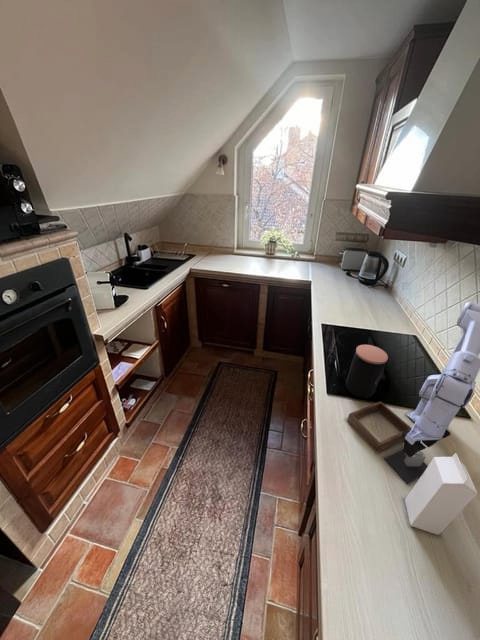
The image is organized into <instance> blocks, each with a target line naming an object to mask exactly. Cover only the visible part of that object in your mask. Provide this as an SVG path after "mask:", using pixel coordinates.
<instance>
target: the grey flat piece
mask: <svg viewBox="0 0 480 640" xmlns="http://www.w3.org/2000/svg"><path fill="white" fill-rule="evenodd" d="M402 447H404V443H403V444H402ZM405 455H406V454H405ZM406 456H407V455H406ZM426 458H427V456H426V454H425V453H424V451H422V450H421V451H418V452H417V453H416V454H415V455H414V456H412V457H408V456H407V457H406V458H405V460H404V462H405V464H406V465H407V466H421V465H422V463H423V462H424V461H425V460H426Z"/></svg>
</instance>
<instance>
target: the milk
mask: <svg viewBox="0 0 480 640" xmlns="http://www.w3.org/2000/svg"><path fill="white" fill-rule="evenodd" d="M427 466H428V467H427V469H426V470H425V471H424V473H423V474H422V476H420V477H419V478H418V480H417V482H416V483H415V485H414V486H413V488H412V489H411V490H410V492H409V493H408V495H407V497H405V499H404V503H405V506H406V511H407V515H408V516H407V517H408V521H409V525H410V527H414V528H416V529H419V530H422V531H425V532H429V533H431V534H433V535H437V536H439V535H440V534H441V533H442V532H443V531H444V530H445V529H446V528H447V527H448V526H449V525H450V523H452V521H454V520H455V518H456V517H457V516H458V515H459V514H460V513H461V512H462V511H463V510H464V509H465V508H466V507H467V505H469V503H471V501H472V500H473V499H474V498H475V497H476V496H477V495H478V491H477V489H476V487H475V485H474V482H473V480H472V478H471V476H470V474H469V471H468V469H467V466H466V465H465V464H463V462H461V460H460V458H459V456H458V454H457V453H456V452H455V453H454V454H453V455H452V456H433V458H432V459H431V461H430V463H428V465H427Z"/></svg>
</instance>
